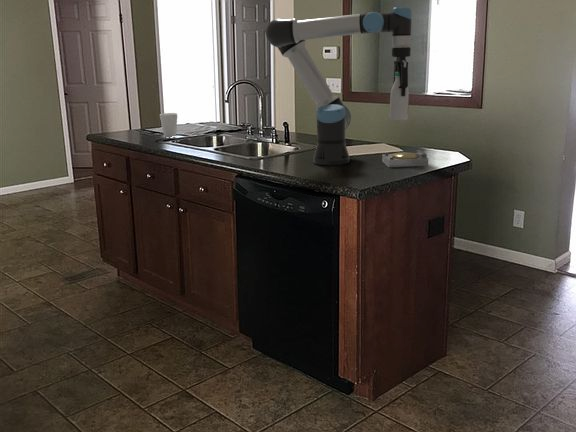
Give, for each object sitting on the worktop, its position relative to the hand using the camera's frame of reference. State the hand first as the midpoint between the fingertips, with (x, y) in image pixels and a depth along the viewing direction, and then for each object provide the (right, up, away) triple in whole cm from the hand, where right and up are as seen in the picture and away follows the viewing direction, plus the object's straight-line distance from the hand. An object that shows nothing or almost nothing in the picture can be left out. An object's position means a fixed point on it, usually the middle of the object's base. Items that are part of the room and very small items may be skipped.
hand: (399, 103), depth 255 cm
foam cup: (-112, -4, +81) cm, 138 cm away
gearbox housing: (+1, -26, -7) cm, 27 cm away
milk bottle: (0, -7, +2) cm, 7 cm away
